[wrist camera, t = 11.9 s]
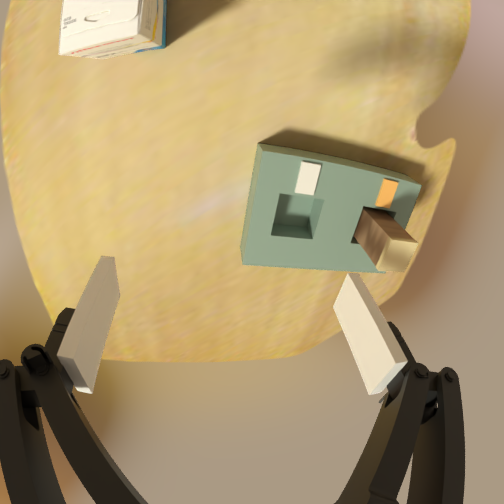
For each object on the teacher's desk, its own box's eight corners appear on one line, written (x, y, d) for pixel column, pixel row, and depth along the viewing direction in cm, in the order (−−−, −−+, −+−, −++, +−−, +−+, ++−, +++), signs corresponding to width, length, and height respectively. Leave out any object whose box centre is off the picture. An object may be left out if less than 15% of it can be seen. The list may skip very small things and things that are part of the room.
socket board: (257, 143, 35) (263, 151, 31) (405, 174, 39) (423, 186, 35) (240, 247, 44) (242, 266, 39) (374, 258, 48) (386, 274, 44)
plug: (355, 201, 40) (392, 239, 31) (380, 205, 41) (418, 243, 32) (346, 227, 42) (378, 270, 33) (371, 231, 43) (404, 272, 34)
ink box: (168, -8, 22) (147, -41, 12) (166, 49, 27) (142, 35, 17) (103, 5, 21) (62, -16, 11) (101, 60, 26) (56, 57, 16)
